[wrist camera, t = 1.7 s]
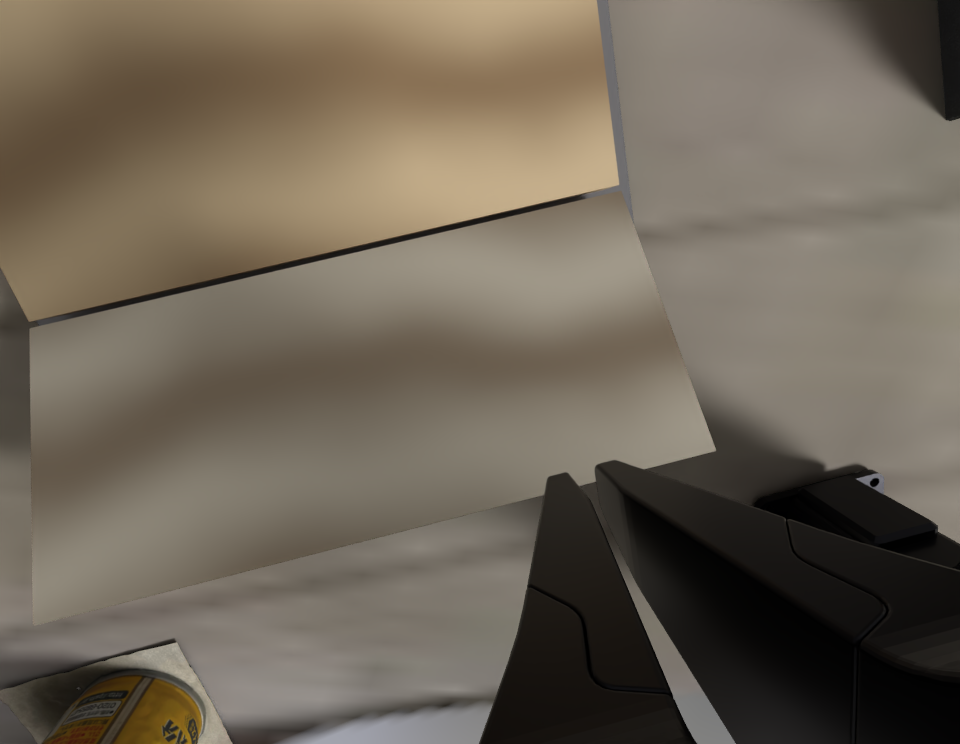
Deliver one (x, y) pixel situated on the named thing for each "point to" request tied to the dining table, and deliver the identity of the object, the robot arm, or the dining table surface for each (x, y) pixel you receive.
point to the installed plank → (278, 132)
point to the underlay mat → (623, 186)
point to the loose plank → (346, 402)
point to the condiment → (120, 703)
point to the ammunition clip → (950, 55)
